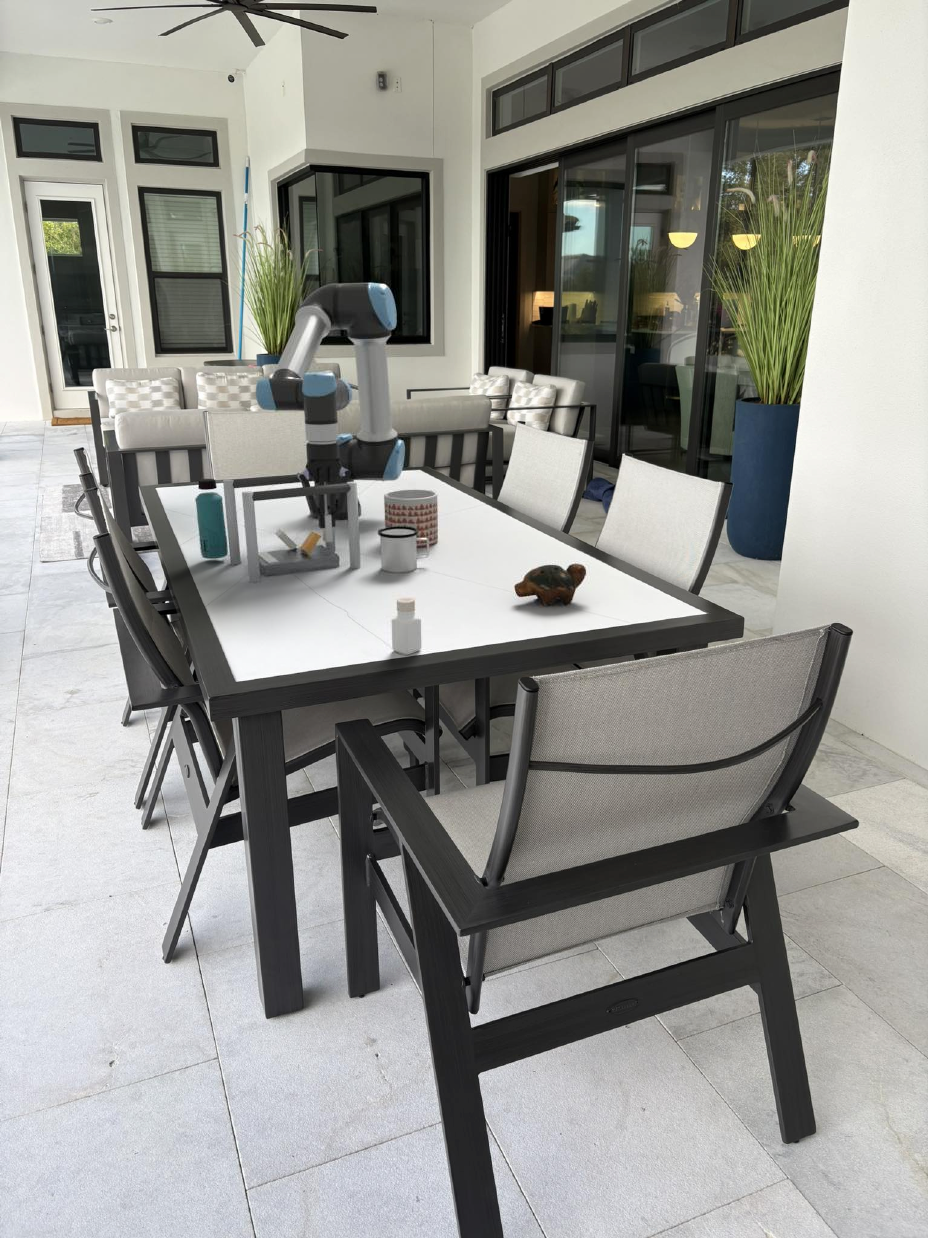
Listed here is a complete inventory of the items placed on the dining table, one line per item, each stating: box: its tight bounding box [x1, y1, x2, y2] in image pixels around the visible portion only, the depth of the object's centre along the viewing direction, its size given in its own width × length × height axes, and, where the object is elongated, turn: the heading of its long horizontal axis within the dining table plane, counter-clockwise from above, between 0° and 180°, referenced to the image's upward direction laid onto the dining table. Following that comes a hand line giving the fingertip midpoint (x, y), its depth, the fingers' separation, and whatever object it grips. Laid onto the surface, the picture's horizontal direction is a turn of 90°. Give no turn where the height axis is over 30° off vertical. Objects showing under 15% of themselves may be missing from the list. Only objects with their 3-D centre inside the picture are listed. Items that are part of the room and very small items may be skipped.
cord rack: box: [222, 473, 361, 583], centre depth 209 cm, size 26×19×20 cm
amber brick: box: [299, 530, 322, 555], centre depth 213 cm, size 2×3×6 cm
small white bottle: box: [391, 596, 422, 656], centre depth 157 cm, size 4×4×10 cm
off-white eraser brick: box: [274, 528, 298, 550], centre depth 216 cm, size 2×3×6 cm
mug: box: [377, 526, 430, 574], centre depth 209 cm, size 12×10×9 cm
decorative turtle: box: [513, 563, 587, 607], centre depth 184 cm, size 10×15×8 cm, turn 107°
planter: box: [383, 488, 439, 549], centre depth 232 cm, size 14×14×13 cm
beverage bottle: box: [194, 478, 229, 560], centre depth 213 cm, size 6×7×20 cm
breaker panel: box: [258, 544, 340, 577], centre depth 212 cm, size 18×12×3 cm, turn 118°
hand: (327, 540), depth 215 cm, fingers closed
